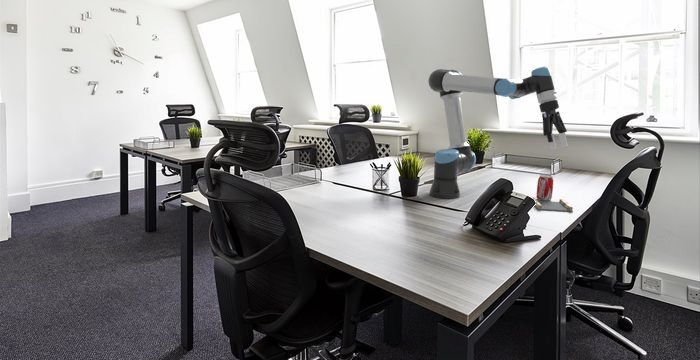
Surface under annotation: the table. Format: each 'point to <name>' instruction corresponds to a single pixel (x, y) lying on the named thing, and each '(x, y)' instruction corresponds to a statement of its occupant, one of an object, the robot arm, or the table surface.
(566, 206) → the guide rails
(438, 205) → the table surface
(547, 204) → the mat
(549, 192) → the soda can
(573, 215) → the table surface
